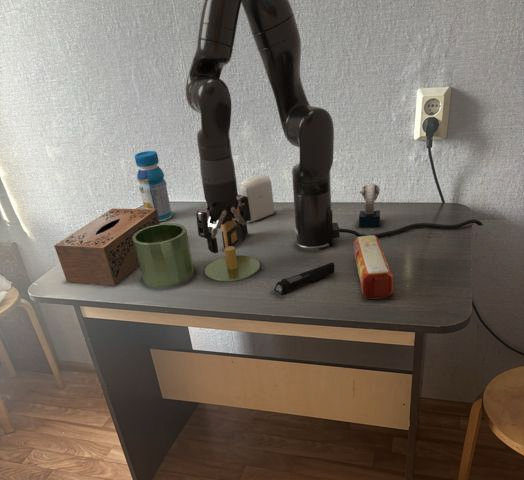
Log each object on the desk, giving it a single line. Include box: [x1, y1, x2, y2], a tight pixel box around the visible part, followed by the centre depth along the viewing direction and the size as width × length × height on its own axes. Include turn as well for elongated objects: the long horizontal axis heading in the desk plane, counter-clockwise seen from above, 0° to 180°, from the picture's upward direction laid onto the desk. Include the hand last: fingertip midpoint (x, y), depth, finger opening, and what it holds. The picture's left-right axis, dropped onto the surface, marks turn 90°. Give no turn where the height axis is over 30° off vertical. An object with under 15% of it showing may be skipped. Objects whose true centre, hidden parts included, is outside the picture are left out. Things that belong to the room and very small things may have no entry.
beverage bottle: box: [134, 150, 173, 223], centre depth 158 cm, size 8×8×20 cm
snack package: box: [352, 234, 394, 300], centre depth 114 cm, size 21×7×7 cm, turn 177°
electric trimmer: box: [274, 262, 335, 296], centre depth 116 cm, size 4×16×3 cm, turn 121°
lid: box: [204, 246, 261, 283], centre depth 124 cm, size 14×14×6 cm
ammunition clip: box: [221, 193, 249, 249], centre depth 137 cm, size 11×2×12 cm, turn 153°
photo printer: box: [238, 174, 275, 223], centre depth 152 cm, size 10×4×12 cm, turn 127°
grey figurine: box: [358, 182, 381, 229], centre depth 139 cm, size 6×8×11 cm
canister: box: [132, 222, 195, 288], centre depth 124 cm, size 13×13×12 cm
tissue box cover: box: [53, 207, 161, 287], centre depth 135 cm, size 26×14×10 cm, turn 161°
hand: (228, 246), depth 122 cm, fingers open, 8 cm apart
